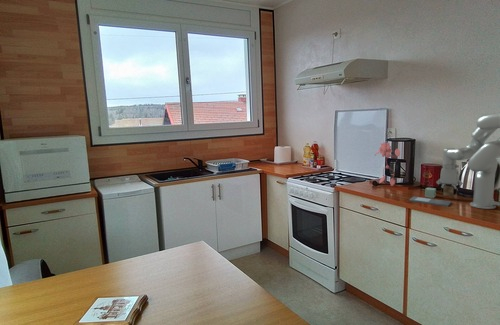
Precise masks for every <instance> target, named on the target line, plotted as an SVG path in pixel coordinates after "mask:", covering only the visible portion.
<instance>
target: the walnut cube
mask: <svg viewBox="0 0 500 325" xmlns="http://www.w3.org/2000/svg"><path fill="white" fill-rule="evenodd" d="M442 196H445V197H446V196H449V197H454V196H455V195H454V186H453V185H445V186H444V187H443V192H442Z"/></svg>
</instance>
